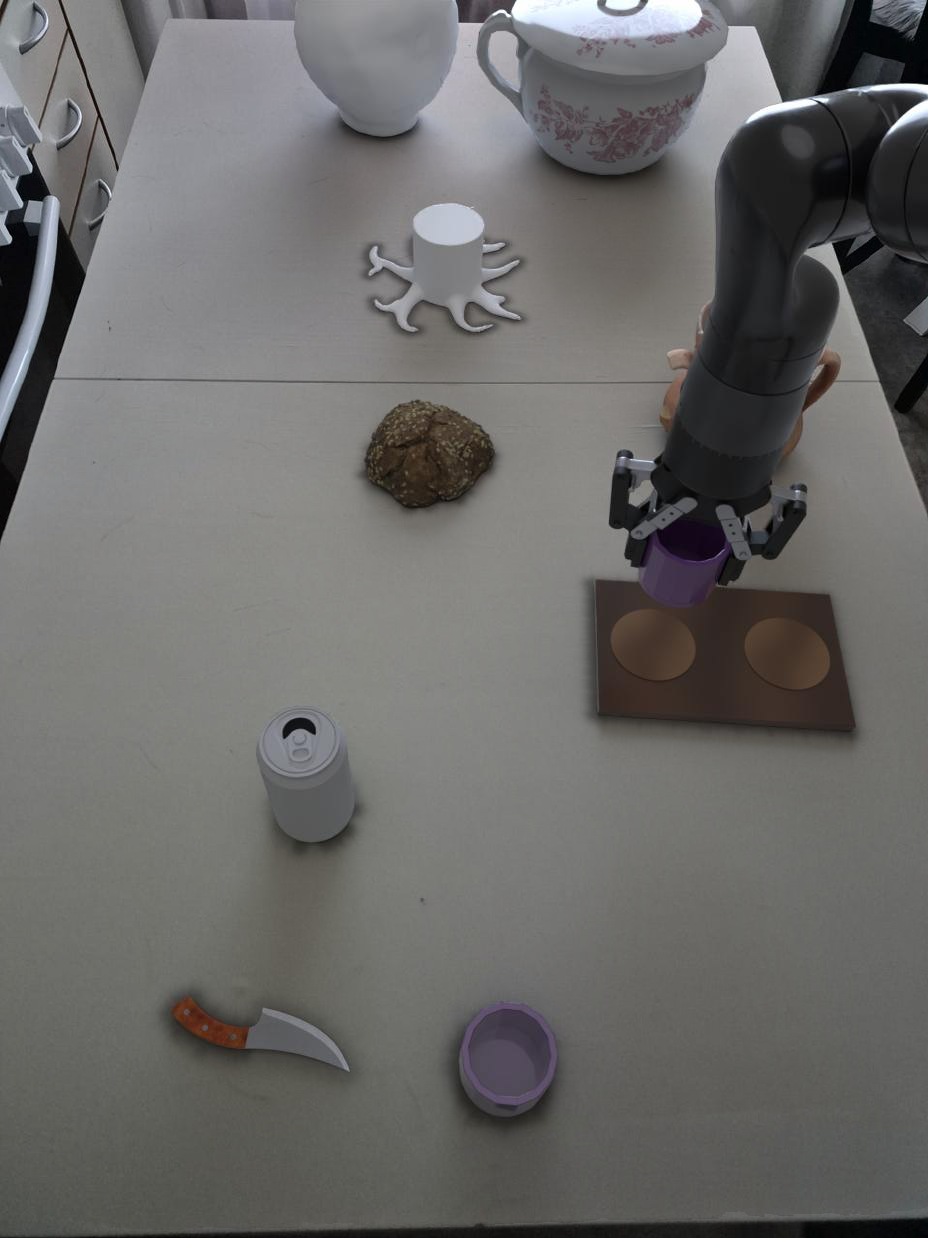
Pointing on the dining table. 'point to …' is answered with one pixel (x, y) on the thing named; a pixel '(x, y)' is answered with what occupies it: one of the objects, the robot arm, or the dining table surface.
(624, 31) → the chamber pot
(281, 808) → the beverage can
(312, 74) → the vase
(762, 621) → the serving board
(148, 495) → the dining table surface
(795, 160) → the robot arm
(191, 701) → the dining table surface
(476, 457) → the bread roll
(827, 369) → the ceramic jug
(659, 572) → the ramekin
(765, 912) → the dining table surface
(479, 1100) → the ramekin
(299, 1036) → the knife
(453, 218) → the tree stump
